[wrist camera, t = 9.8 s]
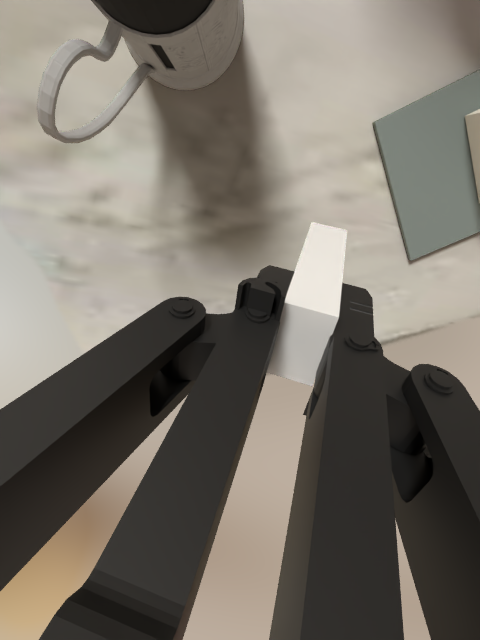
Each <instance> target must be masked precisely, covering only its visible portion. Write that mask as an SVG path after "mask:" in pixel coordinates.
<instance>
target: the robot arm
mask: <svg viewBox="0 0 480 640" xmlns="http://www.w3.org/2000/svg"><path fill="white" fill-rule="evenodd" d="M346 238H347V230H344V229H340V228H335V227H331V226H327V225H323V224H318V223H314V222H312V223H311V226H310V228H309V231H308V234H307V237H306V240H305V243H304V246H303V249H302V252H301V254H300V257H299V260H298V263H297V266H296V269H295V272H294V271H290V270H286V269H282V268H278V267H274V266H271V265H269V266H267V267H266V268H264V269H262V270H261V271H260V273H259V275H258V277H257V278H249V279H246V280H243V281H242V282H241V283H240V284H239V285H238V292H237V298H236V305H235V310H234V311H233V312H232V313H229V314H206V309H205V307H204V306H203V304H202V303H200V302H199V301H197V300H195V299H191V298H188V297H175V298H170V299H167V300H165V301H163V302H162V303H160V304H159V305H157V306H156V307H154V308H153V309H151V310H150V311H148V312H147V313H145V314H143V315H142V316H140V317H139V318H137V319H136V320H134V321H133V322H131V323H130V324H128V325H127V326H125V327H124V328H122V329H121V330H119V331H118V332H116V333H115V334H113V335H112V336H110V337H109V338H107V339H106V340H104V341H103V342H101V343H100V344H98V345H97V346H95V347H94V348H92V349H91V350H89V351H88V352H86V353H85V354H83V355H82V356H80V357H79V358H77V359H76V360H74V361H73V362H71V363H70V364H68V365H67V366H65V367H64V368H62V369H61V370H59V371H58V372H56V373H55V374H53V375H52V376H50V377H49V378H47V379H46V380H44V381H43V382H41V383H40V384H38V385H37V386H35V387H34V388H32V389H31V390H29V391H28V392H26V393H24V394H23V395H22V396H20V397H18V398H17V399H16V400H14V401H13V402H11V403H9V404H8V405H6V406H5V407H4V408H2V409H0V591H1V590H2V589H3V588H4V587H5V586H6V585H7V584H8V583H9V581H10V580H11V579H12V578H13V577H14V576H15V575H16V574H17V573H18V572H19V571H20V570H21V569H22V568H23V567H24V566H25V565H26V564H27V562H28V561H30V559H31V558H32V557H33V556H34V555H35V554H36V553H37V552H38V551H39V550H40V549H41V548H42V547H43V546H44V545H45V544H46V543H47V541H49V540H50V539H51V537H52V536H53V535H54V534H55V533H56V532H57V531H58V530H59V529H60V528H61V527H62V526H63V525H64V524H65V523H66V521H68V520H69V519H70V517H72V515H73V514H74V513H75V512H76V511H77V510H78V509H79V508H80V507H81V506H82V505H83V504H84V503H85V502H86V501H87V500H88V499H89V498H90V497H91V496H92V494H93V493H94V492H95V491H96V490H97V489H98V488H99V487H100V486H101V485H102V484H103V483H104V482H105V481H106V480H107V479H108V478H109V477H110V475H112V474H113V472H114V471H115V470H116V469H117V468H118V467H119V466H120V465H121V464H122V463H123V462H124V461H125V460H126V459H127V458H128V457H129V456H130V454H131V453H133V452H134V450H135V449H136V448H137V447H138V446H139V445H140V444H141V443H142V442H143V441H144V440H145V439H146V438H147V437H148V436H149V435H150V433H152V432H153V431H154V429H155V428H156V427H157V426H158V425H159V424H160V423H161V422H162V421H163V420H164V419H165V418H166V417H167V416H168V415H169V414H170V412H172V411H173V409H175V407H176V406H177V405H178V404H179V403H180V402H181V401H182V400H183V399H184V398H185V397H186V396H187V395H188V396H187V398H186V400H185V402H184V404H183V405H182V407H181V409H180V411H179V413H178V415H177V416H176V418H175V420H174V422H173V424H172V426H171V427H170V429H169V431H168V433H167V435H166V437H165V439H164V441H163V442H162V444H161V446H160V448H159V450H158V452H157V453H156V455H155V457H154V459H153V461H152V462H151V464H150V466H149V468H148V470H147V472H146V474H145V475H144V477H143V479H142V481H141V483H140V485H139V487H138V488H137V490H136V492H135V494H134V496H133V498H132V499H131V501H130V503H129V505H128V507H127V509H126V510H125V512H124V514H123V516H122V518H121V520H120V521H119V524H118V525H117V527H116V529H115V531H114V533H113V534H112V536H111V538H110V540H109V542H108V544H107V545H106V547H105V549H104V551H103V553H102V555H101V557H100V558H99V560H98V562H97V564H96V566H95V568H94V569H93V571H92V573H91V574H90V576H89V578H88V579H87V580H86V582H85V583H84V584H83V586H82V587H81V588H80V589H79V590H77V591H76V592H75V593H74V594H72V595H71V596H70V597H69V598H68V599H67V600H66V601H65V602H64V603H63V605H62V606H61V607H60V609H59V610H58V611H57V612H56V614H55V615H54V617H53V618H52V620H51V621H50V623H49V625H48V626H47V628H46V629H45V631H44V633H43V634H42V636H41V637H40V639H39V640H182V639H183V636H184V633H185V630H186V627H187V624H188V621H189V617H190V614H191V611H192V608H193V605H194V602H195V599H196V595H197V592H198V589H199V586H200V583H201V579H202V576H203V573H204V570H205V567H206V564H207V561H208V557H209V554H210V551H211V548H212V545H213V542H214V539H215V535H216V532H217V529H218V525H219V523H220V519H221V516H222V513H223V510H224V507H225V504H226V501H227V497H228V494H229V491H230V488H231V485H232V482H233V478H234V475H235V472H236V469H237V466H238V463H239V460H240V456H241V453H242V450H243V447H244V444H245V441H246V437H247V434H248V431H249V428H250V425H251V422H252V419H253V415H254V412H255V409H256V406H257V403H258V399H259V396H260V393H261V390H262V387H263V383H264V380H265V376H266V372H267V373H270V374H274V375H277V376H280V377H284V378H287V379H290V380H293V381H296V382H300V383H303V384H306V385H310V386H312V385H313V383H314V380H315V384H314V388H313V391H312V393H311V396H310V398H309V401H308V403H307V406H306V409H305V411H304V414H303V415H306V422H305V428H304V434H303V440H302V446H301V452H300V458H299V464H298V470H297V476H296V482H295V488H294V494H293V500H292V506H291V512H290V518H289V524H288V530H287V536H286V542H285V548H284V554H283V560H282V566H281V572H280V578H279V584H278V590H277V596H276V602H275V608H274V614H273V620H272V626H271V632H270V638H269V640H404V633H403V620H402V607H401V592H400V579H399V565H398V553H397V538H396V524H395V518H396V522H397V525H398V529H399V532H400V535H401V539H402V542H403V546H404V549H405V552H406V555H407V559H408V562H409V566H410V569H411V573H412V576H413V580H414V583H415V586H416V590H417V593H418V596H419V600H420V603H421V606H422V610H423V613H424V617H425V620H426V624H427V627H428V630H429V634H430V637H431V640H480V411H479V410H478V408H477V406H476V405H475V403H474V401H473V400H472V398H471V397H470V395H469V393H468V392H467V390H466V388H465V387H464V386H463V384H462V383H461V382H460V381H459V380H458V379H457V378H456V377H455V376H453V375H452V374H451V373H449V372H448V371H446V370H444V369H442V368H440V367H437V366H433V365H429V364H419V365H417V366H415V367H413V369H412V370H411V372H410V371H408V370H406V369H404V368H402V367H400V366H398V365H396V364H394V363H393V362H391V361H389V360H388V359H387V358H385V357H384V356H383V349H382V347H381V344H380V343H379V342H378V341H377V339H376V338H375V337H374V324H373V308H372V307H373V303H372V297H371V296H370V294H369V293H368V291H367V290H366V289H364V288H360V287H356V286H352V285H348V284H344V283H342V280H343V269H344V259H345V248H346Z"/></svg>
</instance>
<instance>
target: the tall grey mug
mask: <svg viewBox="0 0 480 640" xmlns="http://www.w3.org/2000/svg"><path fill="white" fill-rule="evenodd" d="M91 1H92V2H93V3H94V4H95V5H96V7H97V8H98V9H99V10H100V11H101V12H102V14H103V15H104V16H105V17H106V18H107V19H108V20H109V22H108V25H107V28H106V31H105V33H104V36H103V38H102V40H101V42H100V44H99V45H98V46H97V47H94V46H93V45H91V44H90V43H88V42H86V41H83V40H81V39H72V40H68V41H66V42H65V43H64V44H62V45H61V46H59V48H58V49H57V50H56V51H55V53H54V54H53V55H52V56H51V58H50V60H49V62H48V64H47V66H46V68H45V70H44V72H43V76H42V80H41V83H40V87H39V93H38V101H37V111H38V121H39V123H40V125H41V126H42V128H43V130H44V131H45V132H46V133H47V134H49V135H50V136H52V137H53V138H55V139H57V140H60V141H62V142H64V143H80V142H83V141H86V140H88V139H91V138H92V137H94V136H95V135H97V134H98V133H100V132H101V131H102V130H104V129H105V128H106V127H107V126H109V125H110V123H111V122H112V121H113V120H114V119H115V118H116V116H117V115H118V114H119V113H120V111H121V110H122V109H123V108H124V106H125V105H126V104H127V103H128V101H129V100H130V99H131V97H132V96H133V94H134V93H135V92H136V90H137V89H138V88H139V86H140V85H141V84H142V83H143V81H144V80H145V79H146V78H147V76H148V75H149V76H150V77H151V78H152V79H154V80H155V81H157V82H158V83H160V84H162V85H164V86H166V87H169V88H172V89H177V90H184V91H185V90H195V89H199V88H202V87H205V86H207V85H209V84H211V83H213V82H214V81H215V80H216V79H218V78H219V77H220V76H221V75H222V74H223V73H224V72H225V71H226V70H227V68H228V67H229V66H230V64H231V62H232V61H233V59H234V57H235V55H236V53H237V50H238V48H239V45H240V41H241V37H242V33H243V23H244V11H243V1H242V0H91ZM121 36H122V37H123V38H124V39H125V42H126V44H127V46H128V48H129V51H130V53H131V54H132V56H133V58H134V59H135V61H136V62H137V64H138V65H139V67H138V68H137V70H136V71H135V72H134V73H133V74H132V76H131V77H130V78H129V80H128V81H127V82H126V83H125V85H124V86H123V87H122V89H121V90H120V91H119V93H118V94H117V95H116V96H115V98H114V99H113V100H112V101H111V102H110V104H109V105H108V106H107V107H106V108H105V109H104V110H103V111H102V112H101V113H100V114H99V115H98V116H97V117H96V118H94V119H93V120H92V121H90V122H89V123H87V124H85V125H84V126H82V127H80V128H77V129H74V130H71V131H58V130H57V128H56V126H55V108H56V102H57V97H58V93H59V90H60V86H61V84H62V82H63V80H64V78H65V76H66V73H67V72H68V71H69V70H70V68H71V67H72V66H73V64H74V63H75V62H77V61H78V60H79V59H80V58H82V57H84V56H89V55H90V56H93V57H94V58H96V59H98V60H101V61H104V62H105V61H108V60H109V59H110V58H111V57H112V56H113V54H114V52H115V50H116V48H117V46H118V43H119V41H120V38H121Z"/></svg>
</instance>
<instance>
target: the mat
mask: <svg viewBox="0 0 480 640" xmlns="http://www.w3.org/2000/svg"><path fill="white" fill-rule="evenodd" d="M478 109H480V70H478V71H476V72H474V73H472V74H470V75H468V76H466V77H464V78H462V79H460V80H458V81H456V82H454V83H452V84H450V85H448V86H446V87H444V88H442V89H440V90H438V91H436V92H434V93H432V94H430V95H428V96H426V97H424V98H422V99H420V100H418V101H416V102H413V103H411V104H409V105H407V106H405V107H403V108H401V109H399V110H397V111H395V112H393V113H391V114H389V115H387V116H385V117H383V118H381V119H379V120H377V121H375V122H373V126H374V130H375V134H376V138H377V141H378V145H379V149H380V153H381V157H382V160H383V164H384V168H385V172H386V176H387V179H388V183H389V187H390V191H391V195H392V199H393V202H394V206H395V210H396V214H397V218H398V221H399V225H400V229H401V233H402V237H403V240H404V244H405V248H406V252H407V256H408V259H409V260H414V259H416V258H419V257H421V256H423V255H426V254H428V253H430V252H433V251H435V250H438V249H440V248H442V247H445V246H447V245H449V244H452V243H454V242H457V241H459V240H461V239H464V238H466V237H468V236H471V235H473V234H476V233H478V232H480V203H479V199H478V193H477V187H476V181H475V175H474V169H473V163H472V157H471V150H470V144H469V138H468V132H467V126H466V120H465V116H466V115H468V114H470V113H472V112H474V111H476V110H478Z"/></svg>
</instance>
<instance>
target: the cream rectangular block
mask: <svg viewBox="0 0 480 640" xmlns="http://www.w3.org/2000/svg"><path fill="white" fill-rule="evenodd" d="M465 120H466V126H467V132H468V138H469V144H470V150H471V157H472V163H473V169H474V175H475V181H476V187H477V193H478V199H479V203H480V109H478V110H476V111H474V112H472V113H470V114H468V115H466V116H465Z"/></svg>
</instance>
